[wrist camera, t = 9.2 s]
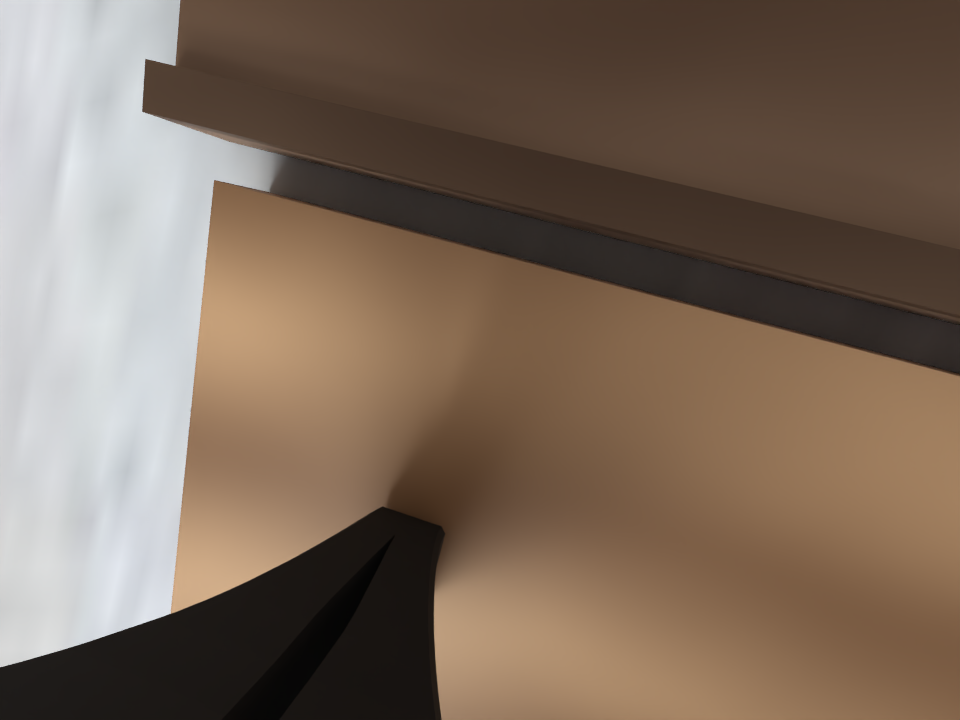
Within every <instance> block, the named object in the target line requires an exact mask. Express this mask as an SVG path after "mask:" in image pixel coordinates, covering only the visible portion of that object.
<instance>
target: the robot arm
mask: <svg viewBox="0 0 960 720" xmlns="http://www.w3.org/2000/svg"><path fill="white" fill-rule="evenodd" d="M444 537H445V532H444V530H443V528H442V526H439V525H436V524H433V523H430V522H427V521H424V520H421V519H418V518H415V517H413V516H410V515H407V514H404V513H401V512H398V511H395V510H392V509H389V508H386V507H383V506H382V507H380V508H378V509H376V510H374V511H373V512H371V513H369V514H368V515H366V516H365V517H363V518H361V519H360V520H358V521H356V522H355V523H353V524H352V525H350V526H348V527H347V528H345V529H343V530H342V531H340V532H338V533H337V534H335V535H333V536H332V537H330V538H328V539H326V540H325V541H323V542H321V543H319V544H318V545H316V546H314V547H312V548H310V549H309V550H307V551H305V552H303V553H302V554H300V555H298V556H296V557H294V558H292V559H291V560H289V561H287V562H285V563H283V564H281V565H279V566H277V567H275V568H273V569H271V570H269V571H267V572H265V573H263V574H261V575H259V576H257V577H255V578H253V579H251V580H249V581H247V582H245V583H243V584H241V585H238V586H236V587H234V588H232V589H230V590H227V591H225V592H223V593H221V594H218V595H216V596H214V597H212V598H209V599H207V600H204V601H202V602H199V603H197V604H194V605H192V606H189V607H187V608H184V609H182V610H180V611H177V612H174V613H172V614H169V615H166V616H164V617H161V618H158V619H155V620H152V621H149V622H146V623H143V624H140V625H137V626H134V627H131V628H128V629H125V630H123V631H120V632H117V633H114V634H111V635H108V636H105V637H102V638H99V639H96V640H93V641H90V642H87V643H84V644H81V645H78V646H74V647H71V648H68V649H64V650H61V651H57V652H54V653H51V654H47V655H44V656H40V657H37V658H33V659H30V660H26V661H23V662H19V663H15V664H12V665H8V666H4V667H0V720H442V719H441V710H440V702H439V694H438V684H437V673H436V660H435V639H434V591H435V575H436V567H437V563H438V559H439V556H440V552H441V548H442V544H443V541H444Z"/></svg>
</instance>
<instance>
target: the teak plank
mask: <svg viewBox="0 0 960 720" xmlns="http://www.w3.org/2000/svg"><path fill="white" fill-rule="evenodd" d="M382 506H383V507H386V508H389V509H392V510H395V511H398V512H401V513H404V514H407V515H410V516H413V517H415V518H418V519H421V520H424V521H427V522H430V523H433V524H436V525H439V526H442V528H443V530H444V532H445V537H444V541H443V544H442V548H441V552H440V556H439V559H438V563H437V567H436V575H435V591H434V639H435V660H436V673H437V684H438V694H439V702H440V710H441V719H442V720H960V374H959V373H955V372H951V371H947V370H944V369H940V368H936V367H932V366H928V365H925V364H921V363H917V362H913V361H909V360H905V359H902V358H898V357H894V356H890V355H886V354H883V353H879V352H875V351H871V350H867V349H864V348H860V347H856V346H852V345H848V344H845V343H841V342H837V341H833V340H829V339H825V338H822V337H818V336H814V335H810V334H806V333H803V332H799V331H795V330H791V329H787V328H784V327H780V326H776V325H772V324H768V323H765V322H761V321H757V320H753V319H749V318H745V317H742V316H738V315H734V314H730V313H726V312H723V311H719V310H715V309H711V308H707V307H704V306H700V305H696V304H692V303H688V302H685V301H681V300H677V299H673V298H669V297H666V296H662V295H658V294H654V293H650V292H646V291H643V290H639V289H635V288H631V287H627V286H624V285H620V284H616V283H612V282H608V281H605V280H601V279H597V278H593V277H589V276H586V275H582V274H578V273H574V272H570V271H566V270H563V269H559V268H555V267H551V266H547V265H544V264H540V263H536V262H532V261H528V260H525V259H521V258H517V257H513V256H509V255H506V254H502V253H498V252H494V251H490V250H486V249H483V248H479V247H475V246H471V245H467V244H464V243H460V242H456V241H452V240H448V239H445V238H441V237H437V236H433V235H429V234H426V233H422V232H418V231H414V230H410V229H406V228H403V227H399V226H395V225H391V224H387V223H384V222H380V221H376V220H372V219H368V218H365V217H361V216H357V215H353V214H349V213H346V212H342V211H338V210H334V209H330V208H327V207H323V206H319V205H315V204H311V203H307V202H304V201H300V200H296V199H292V198H288V197H285V196H281V195H277V194H273V193H269V192H266V191H261V190H257V189H252V188H247V187H243V186H238V185H234V184H229V183H225V182H220V181H216V180H214V187H213V197H212V207H211V217H210V227H209V237H208V247H207V257H206V267H205V277H204V287H203V297H202V307H201V317H200V327H199V337H198V347H197V357H196V367H195V377H194V387H193V397H192V407H191V417H190V427H189V437H188V447H187V457H186V467H185V477H184V487H183V497H182V507H181V517H180V526H179V536H178V546H177V556H176V566H175V576H174V586H173V596H172V606H171V614H172V613H174V612H177V611H180V610H182V609H184V608H187V607H189V606H192V605H194V604H197V603H199V602H202V601H204V600H207V599H209V598H212V597H214V596H216V595H218V594H221V593H223V592H225V591H227V590H230V589H232V588H234V587H236V586H238V585H241V584H243V583H245V582H247V581H249V580H251V579H253V578H255V577H257V576H259V575H261V574H263V573H265V572H267V571H269V570H271V569H273V568H275V567H277V566H279V565H281V564H283V563H285V562H287V561H289V560H291V559H292V558H294V557H296V556H298V555H300V554H302V553H303V552H305V551H307V550H309V549H310V548H312V547H314V546H316V545H318V544H319V543H321V542H323V541H325V540H326V539H328V538H330V537H332V536H333V535H335V534H337V533H338V532H340V531H342V530H343V529H345V528H347V527H348V526H350V525H352V524H353V523H355V522H356V521H358V520H360V519H361V518H363V517H365V516H366V515H368V514H369V513H371V512H373V511H374V510H376V509H378V508H380V507H382Z"/></svg>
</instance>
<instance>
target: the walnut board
mask: <svg viewBox="0 0 960 720" xmlns="http://www.w3.org/2000/svg"><path fill="white" fill-rule="evenodd" d="M142 112H145V113H148V114H151V115H154V116H157V117H160V118H162V119H165V120H168V121H171V122H174V123H177V124H180V125H183V126H186V127H189V128H192V129H194V130H197V131H200V132H203V133H206V134H209V135H212V136H215V137H218V138H221V139H223V140H226V141H229V142H233V143H237V144H241V145H245V146H249V147H253V148H257V149H261V150H265V151H269V152H273V153H277V154H281V155H285V156H289V157H293V158H297V159H301V160H305V161H309V162H313V163H317V164H321V165H325V166H329V167H333V168H337V169H341V170H345V171H349V172H353V173H357V174H361V175H365V176H369V177H373V178H377V179H381V180H385V181H389V182H393V183H397V184H401V185H405V186H408V187H412V188H416V189H420V190H424V191H428V192H432V193H436V194H440V195H444V196H448V197H452V198H456V199H460V200H464V201H468V202H472V203H476V204H480V205H484V206H488V207H492V208H496V209H500V210H504V211H508V212H512V213H516V214H520V215H524V216H528V217H532V218H536V219H540V220H544V221H548V222H552V223H556V224H560V225H564V226H568V227H572V228H576V229H580V230H584V231H588V232H592V233H596V234H600V235H604V236H607V237H611V238H615V239H619V240H623V241H627V242H631V243H635V244H639V245H643V246H647V247H651V248H655V249H659V250H663V251H667V252H671V253H675V254H679V255H683V256H687V257H691V258H695V259H699V260H703V261H707V262H711V263H715V264H719V265H723V266H727V267H731V268H735V269H739V270H743V271H747V272H751V273H755V274H759V275H763V276H767V277H771V278H775V279H779V280H783V281H787V282H791V283H795V284H799V285H803V286H806V287H810V288H814V289H818V290H822V291H826V292H830V293H834V294H838V295H842V296H846V297H850V298H854V299H858V300H862V301H866V302H870V303H874V304H878V305H882V306H886V307H890V308H894V309H898V310H902V311H906V312H910V313H914V314H918V315H922V316H926V317H930V318H934V319H938V320H942V321H946V322H950V323H954V324H958V325H960V0H181V1H180V14H179V27H178V40H177V54H176V66H173V65H169V64H164V63H160V62H156V61H151V60H147V59H146V60H145V76H144V92H143V109H142Z"/></svg>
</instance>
